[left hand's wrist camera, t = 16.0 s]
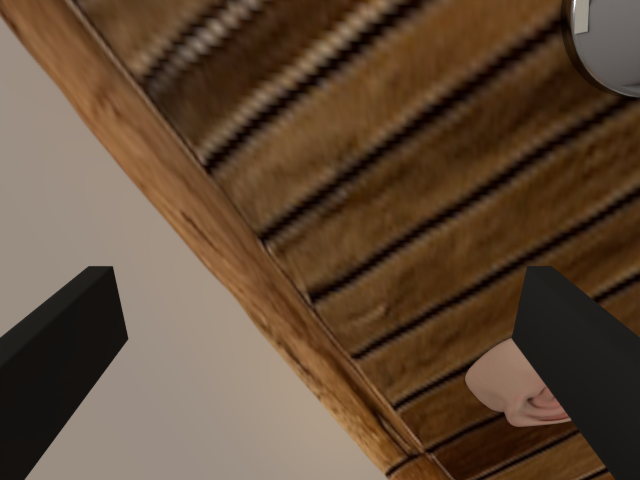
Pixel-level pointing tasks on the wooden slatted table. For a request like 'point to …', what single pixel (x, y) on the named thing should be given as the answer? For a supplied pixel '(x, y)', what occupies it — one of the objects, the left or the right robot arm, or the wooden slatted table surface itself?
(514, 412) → the anatomical model
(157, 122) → the wooden slatted table surface
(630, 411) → the left robot arm
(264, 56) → the wooden slatted table surface
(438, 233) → the wooden slatted table surface
